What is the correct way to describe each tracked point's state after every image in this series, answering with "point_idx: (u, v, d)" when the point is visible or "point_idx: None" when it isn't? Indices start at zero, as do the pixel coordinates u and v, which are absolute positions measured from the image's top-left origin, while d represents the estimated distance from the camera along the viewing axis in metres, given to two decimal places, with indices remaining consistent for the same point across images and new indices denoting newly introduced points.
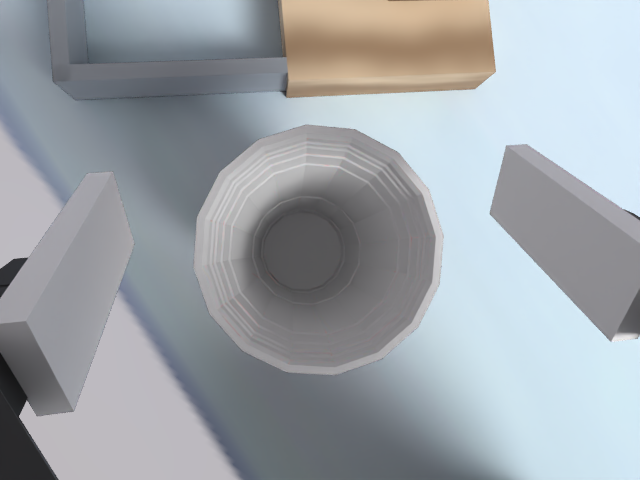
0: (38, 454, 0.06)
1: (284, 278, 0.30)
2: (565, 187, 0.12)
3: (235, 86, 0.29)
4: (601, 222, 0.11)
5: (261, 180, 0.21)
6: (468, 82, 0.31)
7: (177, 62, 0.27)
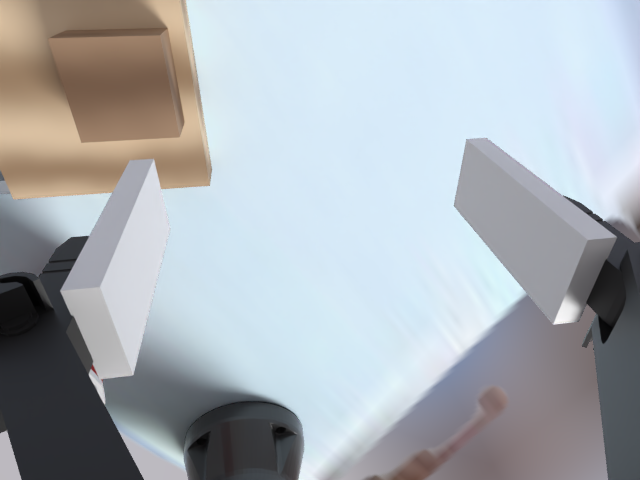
0: (108, 414, 0.06)
1: None
2: (514, 177, 0.13)
3: None
4: (543, 210, 0.11)
5: None
6: None
7: None
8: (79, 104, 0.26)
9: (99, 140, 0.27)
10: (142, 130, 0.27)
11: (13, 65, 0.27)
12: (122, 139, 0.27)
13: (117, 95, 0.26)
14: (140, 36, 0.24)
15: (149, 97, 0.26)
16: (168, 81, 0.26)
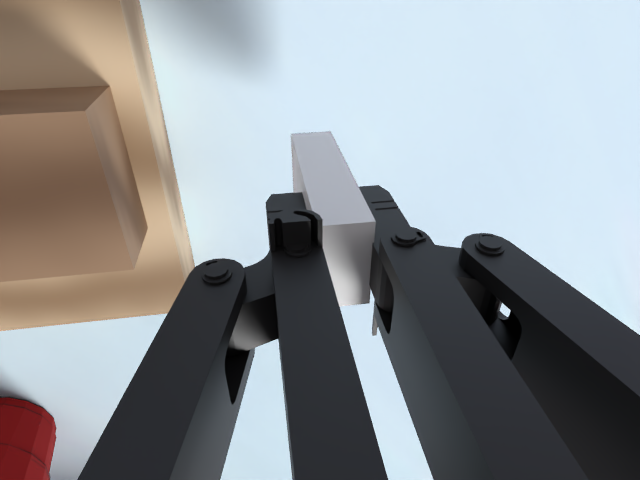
0: (349, 345, 0.08)
1: None
2: (326, 168, 0.13)
3: None
4: None
5: None
6: None
7: None
8: None
9: None
10: (68, 263, 0.16)
11: None
12: (33, 277, 0.16)
13: (14, 212, 0.14)
14: (46, 113, 0.13)
15: (75, 213, 0.15)
16: (107, 186, 0.14)
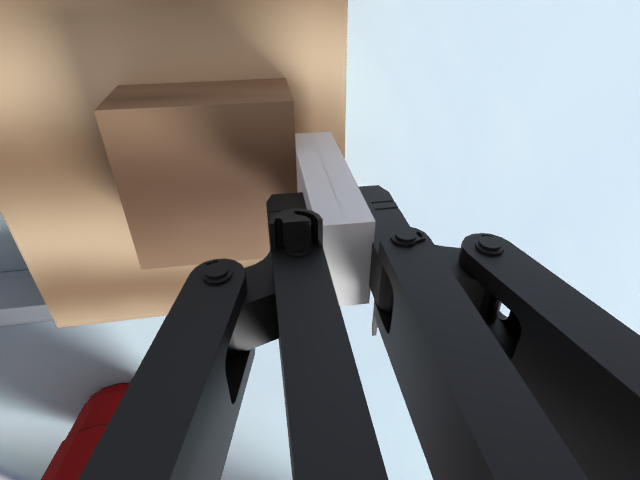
0: (349, 345, 0.08)
1: None
2: (325, 168, 0.13)
3: None
4: None
5: None
6: None
7: None
8: (142, 214, 0.15)
9: (171, 265, 0.16)
10: (242, 248, 0.16)
11: (66, 141, 0.16)
12: None
13: (207, 198, 0.15)
14: (259, 103, 0.14)
15: (261, 199, 0.15)
16: (295, 173, 0.15)
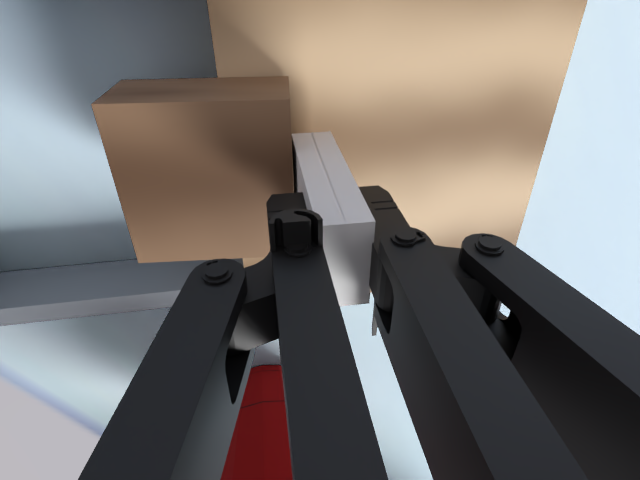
0: (349, 345, 0.08)
1: None
2: (326, 168, 0.13)
3: None
4: None
5: None
6: None
7: (102, 300, 0.20)
8: (138, 208, 0.15)
9: (167, 259, 0.16)
10: (238, 246, 0.16)
11: (310, 126, 0.17)
12: (204, 258, 0.16)
13: (203, 195, 0.15)
14: (254, 101, 0.13)
15: (256, 198, 0.15)
16: (291, 173, 0.15)
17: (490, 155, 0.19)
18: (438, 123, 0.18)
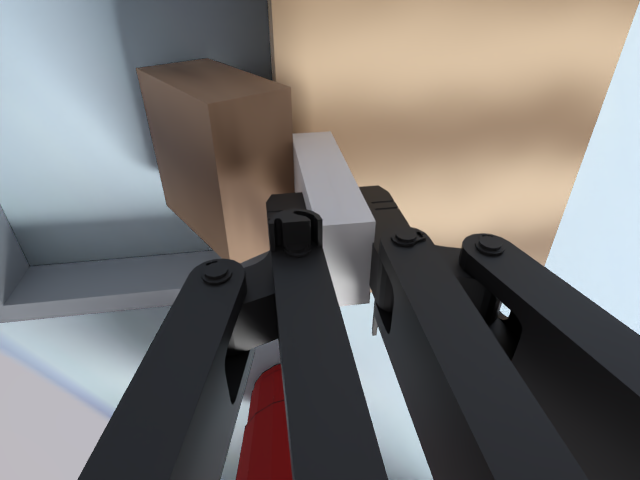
0: (349, 345, 0.08)
1: None
2: (326, 168, 0.13)
3: None
4: None
5: None
6: None
7: (146, 294, 0.20)
8: (160, 161, 0.18)
9: (176, 213, 0.19)
10: (202, 230, 0.17)
11: (362, 122, 0.17)
12: (189, 226, 0.18)
13: (182, 169, 0.16)
14: (192, 96, 0.13)
15: (204, 192, 0.15)
16: (219, 181, 0.14)
17: (534, 153, 0.19)
18: (486, 120, 0.18)
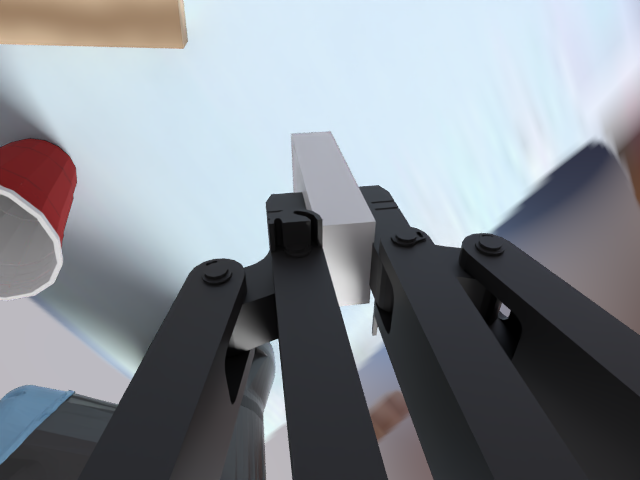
0: (349, 345, 0.08)
1: None
2: (326, 168, 0.13)
3: None
4: None
5: None
6: None
7: None
8: None
9: None
10: None
11: None
12: None
13: None
14: None
15: None
16: None
17: None
18: None
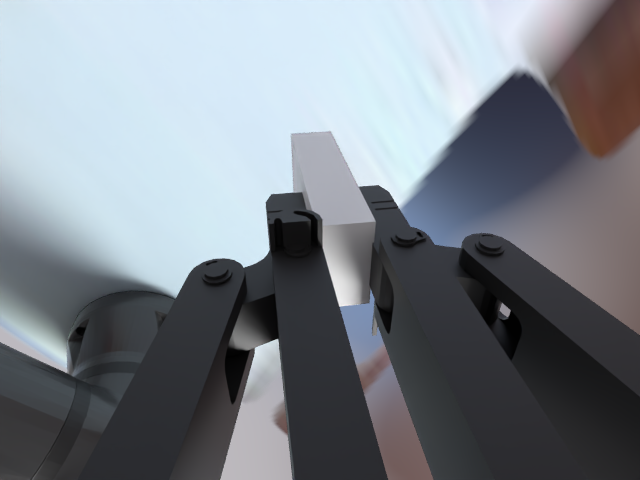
0: (349, 345, 0.08)
1: None
2: (326, 168, 0.13)
3: None
4: None
5: None
6: None
7: None
8: None
9: None
10: None
11: None
12: None
13: None
14: None
15: None
16: None
17: None
18: None
